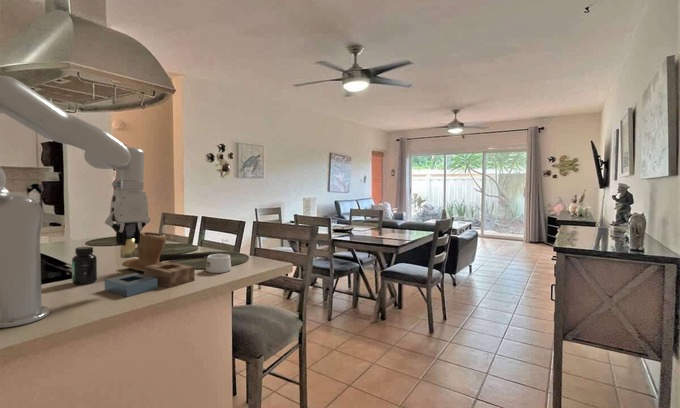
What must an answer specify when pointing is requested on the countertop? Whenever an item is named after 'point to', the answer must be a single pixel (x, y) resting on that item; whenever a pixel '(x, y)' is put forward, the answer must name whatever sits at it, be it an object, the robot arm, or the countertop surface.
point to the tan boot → (147, 251)
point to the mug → (218, 263)
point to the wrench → (181, 256)
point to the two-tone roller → (129, 241)
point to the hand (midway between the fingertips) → (128, 243)
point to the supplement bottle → (84, 266)
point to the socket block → (130, 284)
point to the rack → (170, 273)
